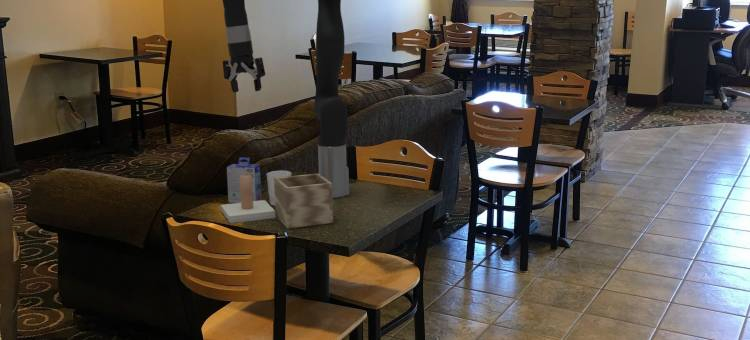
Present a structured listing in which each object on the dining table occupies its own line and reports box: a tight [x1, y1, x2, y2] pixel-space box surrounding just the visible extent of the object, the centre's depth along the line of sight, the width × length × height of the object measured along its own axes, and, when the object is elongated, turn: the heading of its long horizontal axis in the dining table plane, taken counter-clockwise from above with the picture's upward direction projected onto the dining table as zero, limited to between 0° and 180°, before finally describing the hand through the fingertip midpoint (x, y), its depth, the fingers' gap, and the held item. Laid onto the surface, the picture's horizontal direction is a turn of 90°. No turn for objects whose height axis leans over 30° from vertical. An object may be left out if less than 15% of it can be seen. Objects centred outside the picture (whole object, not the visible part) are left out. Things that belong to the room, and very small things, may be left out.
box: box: [274, 173, 334, 229], centre depth 243 cm, size 14×14×12 cm
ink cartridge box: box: [226, 156, 263, 204], centre depth 265 cm, size 10×6×14 cm, turn 78°
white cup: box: [266, 170, 292, 207], centre depth 262 cm, size 8×8×10 cm
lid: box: [220, 175, 276, 220], centre depth 249 cm, size 14×14×11 cm
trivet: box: [220, 208, 277, 224], centre depth 251 cm, size 14×14×1 cm
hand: (246, 91), depth 259 cm, fingers open, 8 cm apart
